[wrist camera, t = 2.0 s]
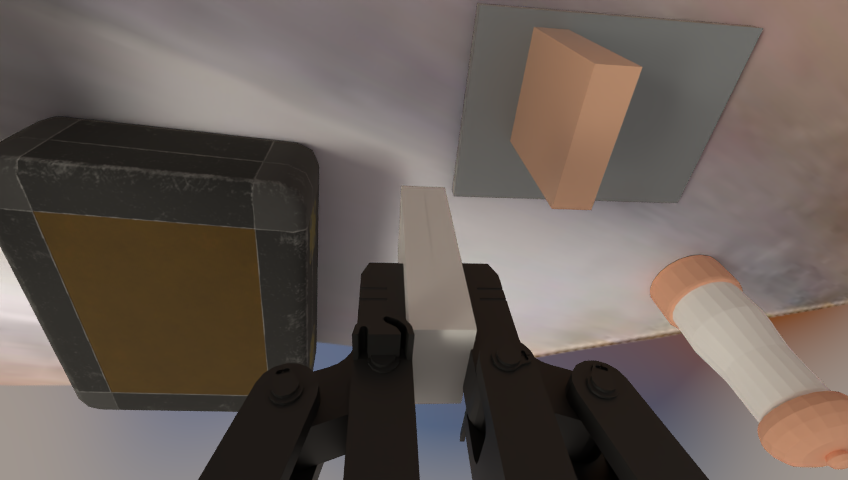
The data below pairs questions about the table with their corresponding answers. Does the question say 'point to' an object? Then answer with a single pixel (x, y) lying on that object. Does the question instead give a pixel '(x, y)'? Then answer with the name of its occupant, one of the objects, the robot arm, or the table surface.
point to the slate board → (647, 112)
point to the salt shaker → (755, 363)
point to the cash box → (163, 258)
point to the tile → (570, 114)
